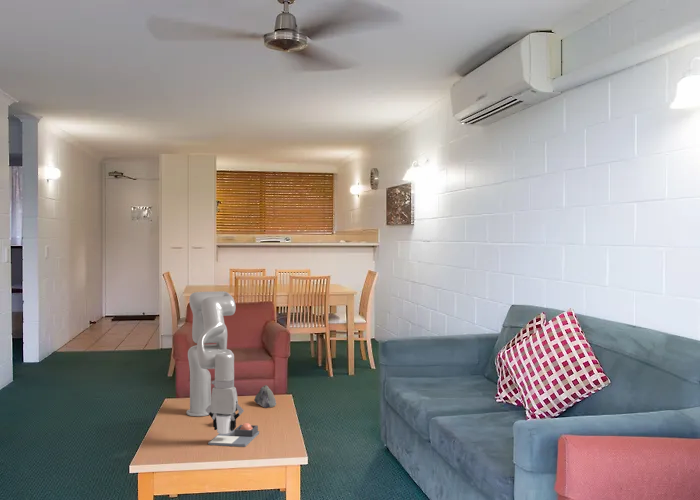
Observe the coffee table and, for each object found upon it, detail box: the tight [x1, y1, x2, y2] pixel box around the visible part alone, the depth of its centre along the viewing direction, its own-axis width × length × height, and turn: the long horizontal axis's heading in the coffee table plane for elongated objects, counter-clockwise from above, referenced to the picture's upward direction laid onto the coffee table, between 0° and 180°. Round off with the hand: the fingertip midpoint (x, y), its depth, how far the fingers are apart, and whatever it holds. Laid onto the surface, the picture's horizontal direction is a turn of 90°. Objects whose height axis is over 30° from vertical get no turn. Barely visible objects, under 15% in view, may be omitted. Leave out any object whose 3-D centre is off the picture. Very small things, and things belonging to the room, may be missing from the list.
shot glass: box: [216, 414, 232, 434], centre depth 256 cm, size 7×7×7 cm
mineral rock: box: [253, 384, 277, 408], centre depth 316 cm, size 13×11×10 cm
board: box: [207, 424, 260, 448], centre depth 260 cm, size 18×15×4 cm
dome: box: [240, 422, 253, 430], centre depth 264 cm, size 5×5×4 cm
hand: (224, 429), depth 256 cm, fingers closed on shot glass, 6 cm apart
